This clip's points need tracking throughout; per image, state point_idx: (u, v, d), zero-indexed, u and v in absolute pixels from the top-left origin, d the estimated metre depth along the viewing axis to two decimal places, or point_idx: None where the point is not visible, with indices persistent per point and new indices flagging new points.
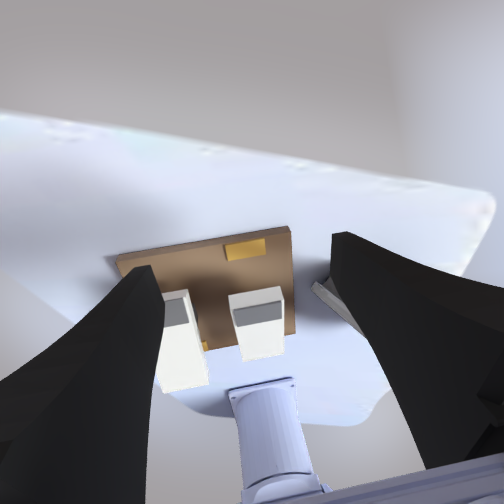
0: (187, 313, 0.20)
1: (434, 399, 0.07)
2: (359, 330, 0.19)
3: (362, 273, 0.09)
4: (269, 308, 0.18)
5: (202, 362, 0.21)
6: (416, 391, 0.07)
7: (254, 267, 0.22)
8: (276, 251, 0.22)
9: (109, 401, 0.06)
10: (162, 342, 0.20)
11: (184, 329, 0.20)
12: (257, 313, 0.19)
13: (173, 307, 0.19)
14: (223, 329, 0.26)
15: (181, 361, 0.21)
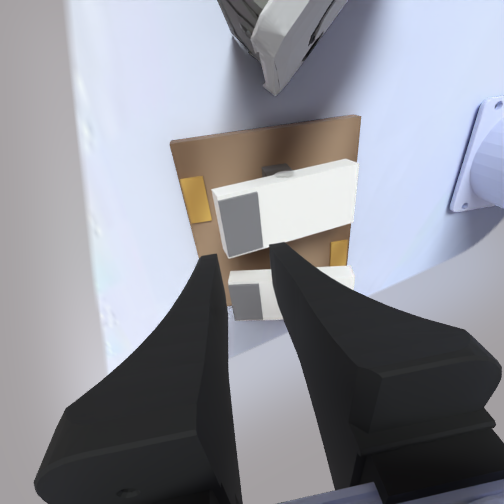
0: (247, 283, 0.18)
1: (331, 420, 0.06)
2: (273, 68, 0.10)
3: (286, 286, 0.09)
4: (229, 215, 0.14)
5: None
6: (322, 410, 0.07)
7: None
8: (200, 161, 0.17)
9: (218, 380, 0.06)
10: None
11: (268, 288, 0.18)
12: (238, 228, 0.14)
13: (238, 294, 0.18)
14: None
15: None
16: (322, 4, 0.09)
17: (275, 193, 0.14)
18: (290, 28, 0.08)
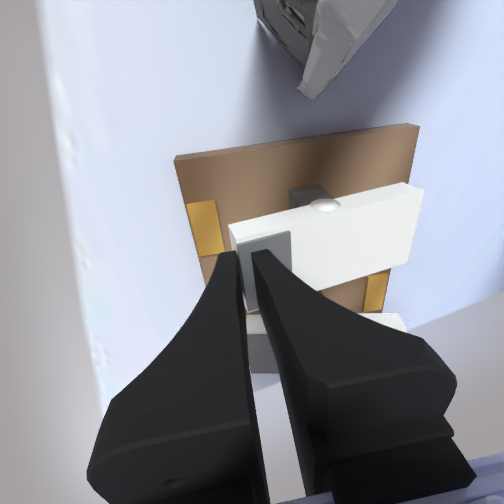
0: None
1: (298, 428, 0.06)
2: (337, 60, 0.06)
3: (263, 291, 0.09)
4: None
5: None
6: (293, 416, 0.07)
7: (241, 215, 0.14)
8: (212, 182, 0.13)
9: (248, 374, 0.07)
10: None
11: None
12: None
13: (256, 346, 0.15)
14: None
15: None
16: None
17: (313, 231, 0.11)
18: None
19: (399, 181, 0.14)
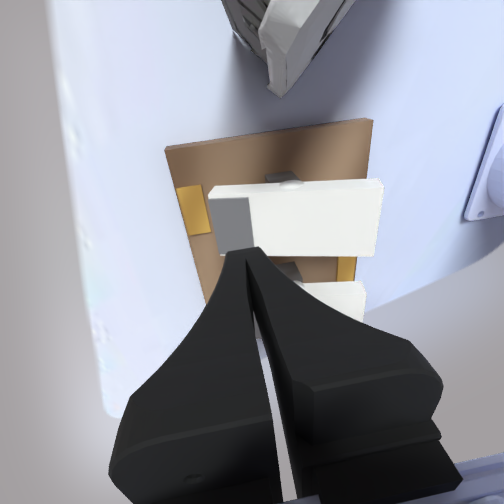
0: None
1: (288, 429, 0.06)
2: (282, 67, 0.08)
3: (255, 292, 0.09)
4: (219, 215, 0.14)
5: (327, 296, 0.16)
6: (284, 418, 0.07)
7: None
8: (198, 169, 0.15)
9: None
10: None
11: None
12: (228, 229, 0.14)
13: None
14: None
15: None
16: None
17: (269, 203, 0.13)
18: (307, 18, 0.06)
19: (359, 167, 0.17)
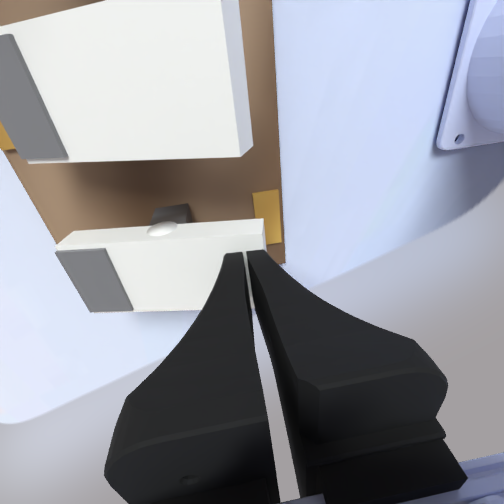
0: (87, 248, 0.11)
1: (291, 429, 0.06)
2: None
3: (258, 291, 0.09)
4: None
5: (201, 239, 0.10)
6: (287, 418, 0.07)
7: None
8: None
9: None
10: (155, 291, 0.12)
11: (123, 257, 0.11)
12: (11, 108, 0.09)
13: (76, 268, 0.11)
14: (227, 158, 0.13)
15: (197, 271, 0.11)
16: None
17: (46, 44, 0.07)
18: None
19: (260, 40, 0.11)
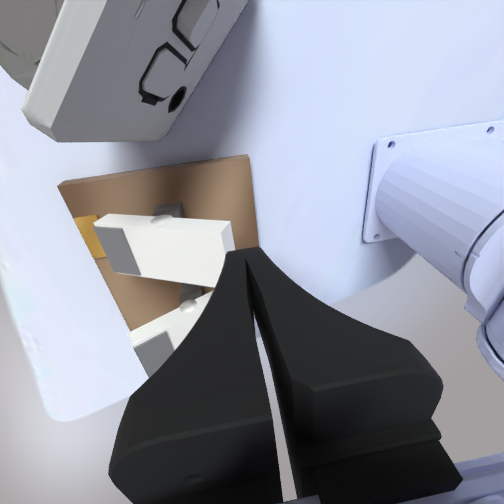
0: (154, 336, 0.17)
1: (288, 429, 0.06)
2: None
3: (255, 292, 0.09)
4: (104, 240, 0.16)
5: None
6: (284, 418, 0.07)
7: None
8: (92, 201, 0.17)
9: None
10: None
11: (176, 331, 0.18)
12: (114, 253, 0.16)
13: (147, 352, 0.17)
14: None
15: None
16: (109, 88, 0.09)
17: (139, 235, 0.15)
18: (54, 121, 0.08)
19: (246, 198, 0.18)
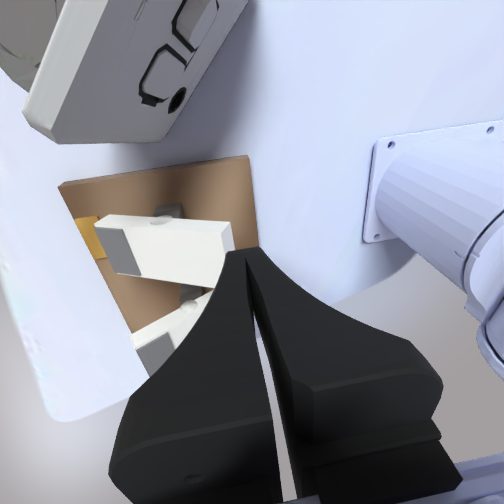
0: (156, 338, 0.17)
1: (288, 429, 0.06)
2: None
3: (255, 292, 0.09)
4: (105, 241, 0.16)
5: None
6: (284, 418, 0.07)
7: None
8: (92, 202, 0.17)
9: None
10: None
11: (177, 332, 0.18)
12: (114, 253, 0.17)
13: (149, 354, 0.17)
14: None
15: None
16: (109, 90, 0.09)
17: (139, 235, 0.15)
18: (55, 123, 0.08)
19: (246, 199, 0.18)
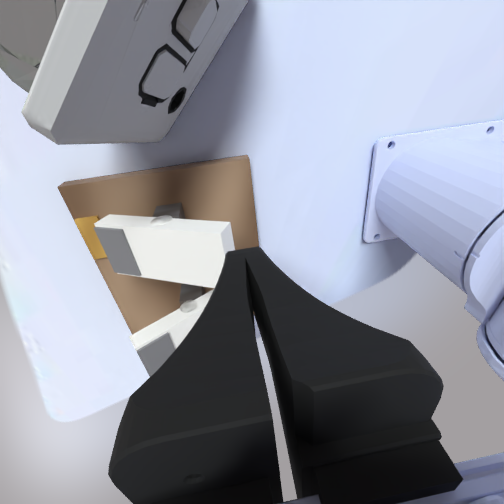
0: (156, 338, 0.17)
1: (288, 429, 0.06)
2: None
3: (255, 292, 0.09)
4: (105, 241, 0.16)
5: None
6: (284, 418, 0.07)
7: None
8: (92, 202, 0.17)
9: None
10: None
11: (177, 332, 0.18)
12: (114, 253, 0.17)
13: (150, 355, 0.17)
14: None
15: None
16: (108, 90, 0.09)
17: (139, 235, 0.15)
18: (54, 123, 0.08)
19: (246, 199, 0.18)
